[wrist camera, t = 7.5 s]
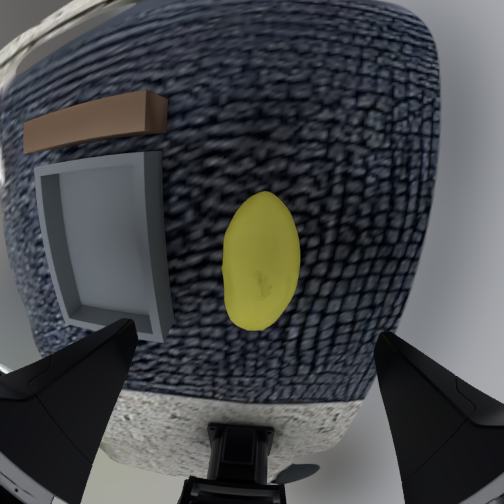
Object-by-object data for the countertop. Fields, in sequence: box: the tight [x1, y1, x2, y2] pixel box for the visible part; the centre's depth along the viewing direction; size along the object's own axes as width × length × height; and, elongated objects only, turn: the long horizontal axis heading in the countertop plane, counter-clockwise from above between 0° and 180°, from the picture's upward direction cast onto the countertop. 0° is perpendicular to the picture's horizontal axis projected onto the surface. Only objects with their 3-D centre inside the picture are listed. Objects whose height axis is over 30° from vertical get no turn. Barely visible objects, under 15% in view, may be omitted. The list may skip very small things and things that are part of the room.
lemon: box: [221, 191, 300, 331], centre depth 14 cm, size 4×8×4 cm, turn 171°
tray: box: [34, 151, 174, 343], centre depth 15 cm, size 11×8×2 cm
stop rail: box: [24, 90, 168, 154], centre depth 12 cm, size 2×9×3 cm, turn 88°
